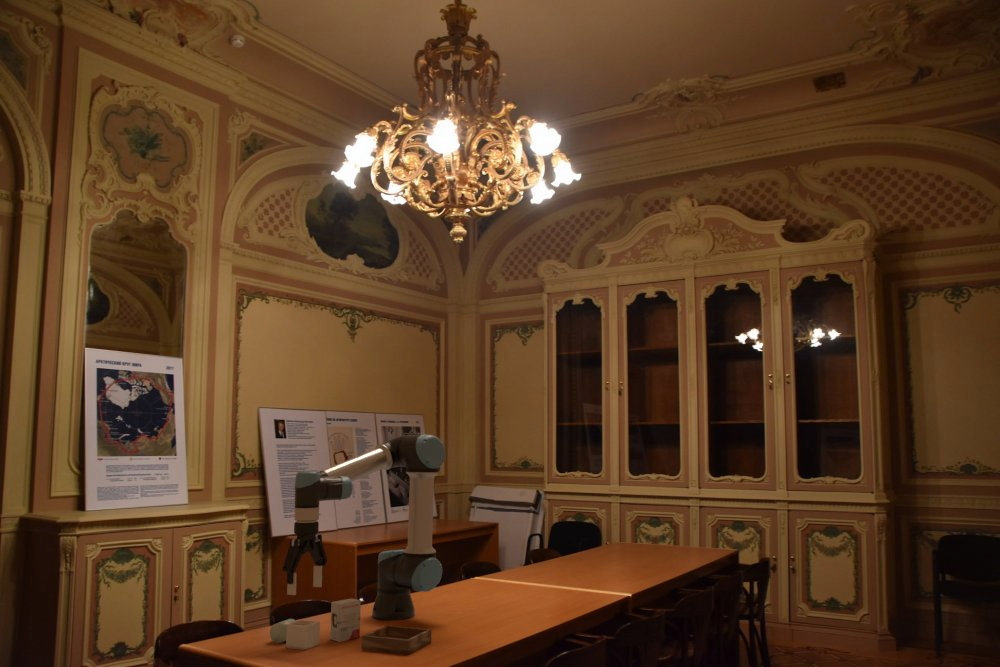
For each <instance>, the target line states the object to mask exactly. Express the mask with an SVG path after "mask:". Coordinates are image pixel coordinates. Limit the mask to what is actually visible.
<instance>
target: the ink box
mask: <svg viewBox="0 0 1000 667" xmlns="http://www.w3.org/2000/svg"><path fill="white" fill-rule="evenodd" d="M361 603H362V602H361V600H360V599H356V598H353V597H351V598H347V599H341V600H336V601H331V605H330V606H331V608H330V631H329V632H330V633H329V634H330V637H329V638H330V640H331V641H332V640H333V641H334V642H338V643H341V642H345V641H349V640H353V639H357V638H359V637H360V636H361V605H362V604H361Z"/></svg>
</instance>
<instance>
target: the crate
mask: <svg viewBox="0 0 1000 667" xmlns="http://www.w3.org/2000/svg"><path fill="white" fill-rule="evenodd" d="M430 644H432V629H429V628H428V629H427V628H418V627H409V626H398V625H397V626H396V625H384V626H382V627H380V628H377V629H376V630H375V629H374V630H372V631H370V632H368V633H366V634H363V635H362V636H361V650H364V651H372V652H382V653H391V654H397V655H398V654H399V655H408V656H410V655H411V654H413V653H414V652H416V651H418V650H420V649H423V648H424V647H427V646H428V645H430Z"/></svg>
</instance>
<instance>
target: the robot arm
mask: <svg viewBox="0 0 1000 667" xmlns="http://www.w3.org/2000/svg"><path fill="white" fill-rule="evenodd" d="M445 460H446V448H445V445H444V442H442V441H441V439H440V438H439V437H437V436H435V435H432V434H403V435H399V436H397V437H394V438H392V439H389V440H386V441H384V442H382V443H379V444H378V445H376V446H375V448H374V449H372V450H369V451H367V452H365V453H362V454H360V455H357V456H355V457H353V458H352V457H351V458H350V459H347V460H344V461H342V462H340V463H337V464H335V465H332V466H331V467H330V466H329V467H327V468H325V469H322V470H320V471H313V470H312V471H309V470H308V471H306V470H305V471H298V472H297V473H296V474H295V482H294V521H295V522H294V524H293V526H294V527H293V534H294V535H296V538H291V539H289V546H288V549H287V552H286V556H285V559H284V562H283V566H282V568H281V570H282V572H283V573H284V574H285V573H286V584H287V586H286V587H287V588H286V590H287V591H286V595H288V596H296V595H297V577H298V576H297V572H296V571H297V568H298V567H299V566H298V565H299V564H300V562H301V559H302V557H303V556H304V555H305V554H306V553H308V552H309V553H308V554H310V556H311V558H312V560H313V563H314V564H315V565H313V574H312V575H313V578H312V579H313V581H312V583H313V584H312V587H313V588H322V587H323V586H322V585H323V566H326V564H327V562H328V558H327V554H326V550H325V547H324V544H323V536H322V534H319V526H320V525H319V520H320V502H323V501H325V502H326V501H337V500H338V501H342V500H347V499H350V497H351V495H353V491H354V490H353V486H354V485H353V482H355V481H357V480H359V479H361V478H364V477H365V476H366V477H367V476H369V475H371V474H374V473H375V472H378V471H381V470H384V471H386V470H387V471H388V470H390V469H393V468H399V467H402V468H403V467H404V468H405V473H406V474H407V475H408V477H409V491H408V492H409V493H408V494H409V495H408V496H409V498H408V499H409V500H408V522H407V523H408V524H407V546H406V547H405V548H403V549H401V548H400V549H393V550H384V551H381V552H379V554H378V557H377V558H378V559H377V595H376V598H375V601H374V604H373V607H372V616H371V617H372V618H374V619H377V620H383V621H384V620H385V621H386V620H387V621H391V620H392V621H395V620H396V621H397V620H405V619H410V618H412V617H414V616H415V611H416V610H415V606H414V602H413V600H412V596H411V590H413V591H415V592H426V593H427V592H430V591H432V590H434V589H435V588H437V585H439V583H440V581H441V579H442V577H443V576H442V575H443V566H442V563H441V561H440V560H439V559H438V558H437V550H436V548H434V547H433V524H434V523H433V522H434V495H435V494H434V488H435V487H434V486H435V484H434V483H435V477H436V476H438V474H439V470H440V469H439V468H440V467H441V466H442V465H443V463H444V462H445Z"/></svg>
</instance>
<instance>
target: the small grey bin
mask: <svg viewBox="0 0 1000 667" xmlns="http://www.w3.org/2000/svg"><path fill="white" fill-rule="evenodd" d="M320 627H321V621H320V620H310V619H309V620H308V619H298V620H295V622H292V623H289V624H287V630H286V641H285V647H286V648H285V649H291V650H292V649H293V650H300V651H308V650H310V649H312V648H315V647H318V646H319V645H320V637H321V636H320V634H321V632H320V631H321V628H320Z"/></svg>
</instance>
